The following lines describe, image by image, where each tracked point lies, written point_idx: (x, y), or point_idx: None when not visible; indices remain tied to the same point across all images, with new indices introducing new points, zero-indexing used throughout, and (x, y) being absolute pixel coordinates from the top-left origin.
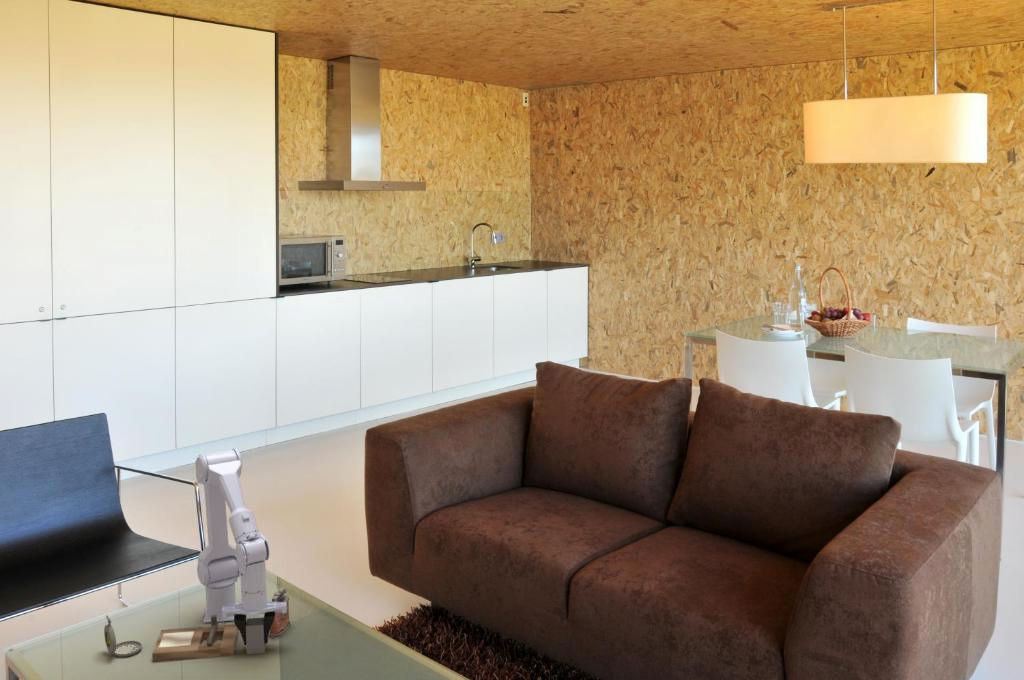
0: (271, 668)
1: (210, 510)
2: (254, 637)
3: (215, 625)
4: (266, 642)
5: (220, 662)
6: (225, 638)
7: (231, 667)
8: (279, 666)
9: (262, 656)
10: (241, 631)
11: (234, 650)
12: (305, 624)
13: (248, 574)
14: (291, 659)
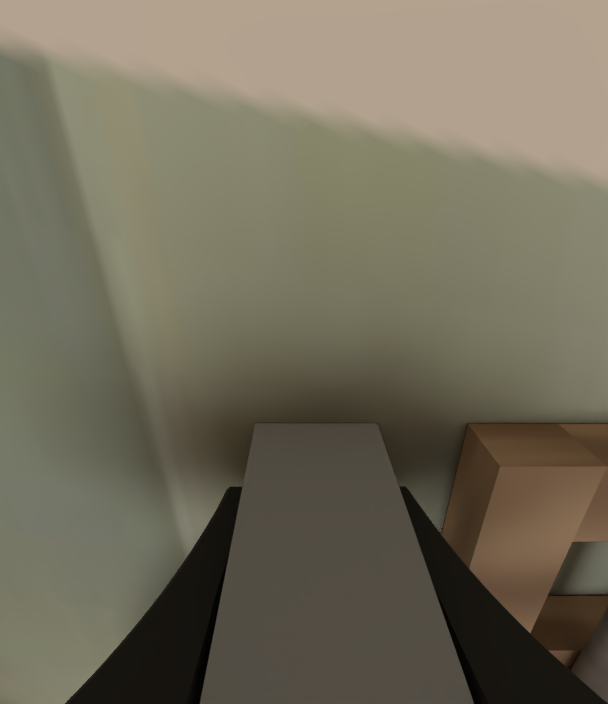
0: (153, 148)
1: None
2: (329, 530)
3: None
4: (230, 492)
5: (575, 341)
6: (532, 579)
7: (508, 242)
8: (85, 176)
9: (263, 376)
10: (493, 617)
11: (457, 475)
12: (76, 653)
13: None
14: (15, 290)
